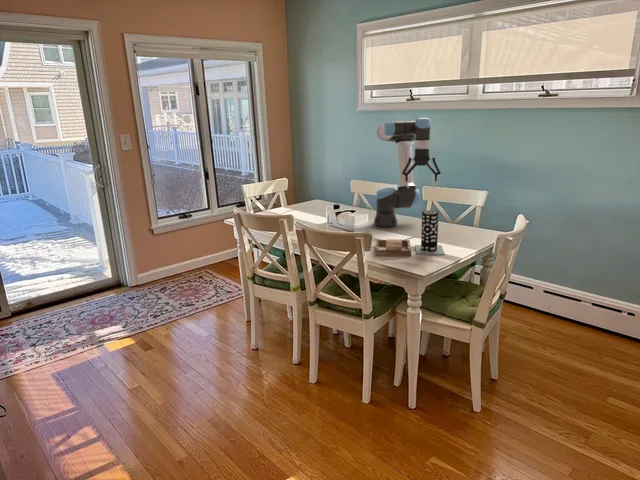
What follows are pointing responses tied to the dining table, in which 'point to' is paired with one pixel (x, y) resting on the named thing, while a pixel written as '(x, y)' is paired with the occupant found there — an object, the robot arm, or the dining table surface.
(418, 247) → the mat
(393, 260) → the dining table surface
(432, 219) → the spotted tube
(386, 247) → the offcut
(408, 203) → the robot arm
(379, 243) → the rack
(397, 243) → the offcut
